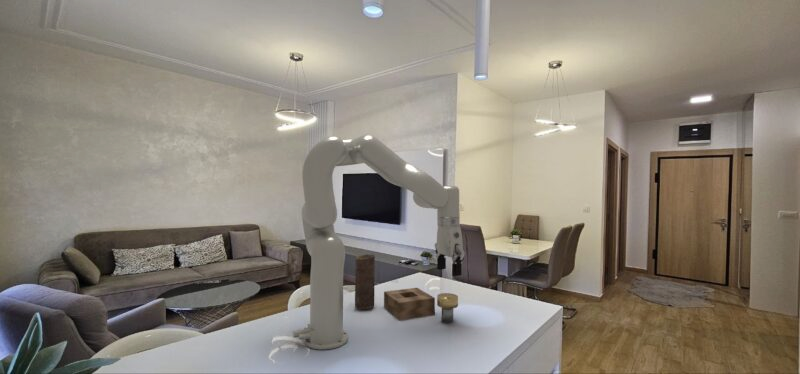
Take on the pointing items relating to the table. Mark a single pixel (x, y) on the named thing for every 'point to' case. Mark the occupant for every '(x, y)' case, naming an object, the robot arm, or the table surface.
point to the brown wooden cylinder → (364, 281)
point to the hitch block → (409, 303)
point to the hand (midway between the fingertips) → (448, 272)
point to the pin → (447, 306)
